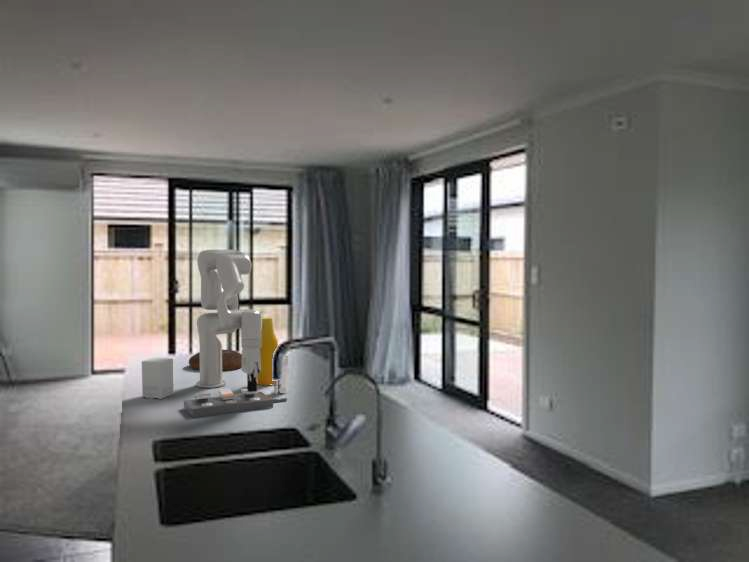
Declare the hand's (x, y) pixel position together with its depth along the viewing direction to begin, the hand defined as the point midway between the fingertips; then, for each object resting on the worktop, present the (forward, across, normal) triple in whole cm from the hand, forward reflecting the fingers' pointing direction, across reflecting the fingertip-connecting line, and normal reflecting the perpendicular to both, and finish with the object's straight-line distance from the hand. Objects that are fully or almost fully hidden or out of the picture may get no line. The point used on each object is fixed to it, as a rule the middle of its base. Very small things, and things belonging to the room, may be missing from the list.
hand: (252, 390), depth 240 cm
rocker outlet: (+1, -3, -18) cm, 18 cm away
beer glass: (+5, -15, +17) cm, 23 cm away
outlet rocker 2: (+1, -3, 0) cm, 3 cm away
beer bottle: (+5, -34, +18) cm, 39 cm away
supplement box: (+5, -32, -29) cm, 43 cm away
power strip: (+6, 0, -5) cm, 7 cm away
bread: (+4, -83, +8) cm, 83 cm away
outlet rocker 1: (+1, -3, -9) cm, 10 cm away
